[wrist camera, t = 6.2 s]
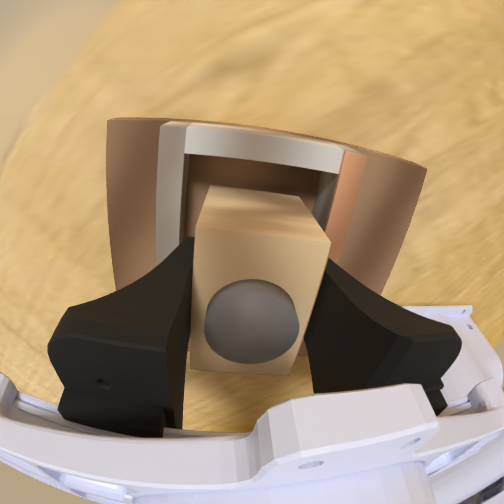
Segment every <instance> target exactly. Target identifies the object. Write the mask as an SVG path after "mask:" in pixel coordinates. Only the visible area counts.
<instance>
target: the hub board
mask: <svg viewBox="0 0 504 504" xmlns="http://www.w3.org/2000/svg"><path fill="white" fill-rule="evenodd" d="M426 172H427V169H426V168H424V167H422V166H420V165H418V164H416V163H413V162H410V161H407V160H404V159H401V158H398V157H394V156H391V155H387V154H384V153H380V152H377V151H373V150H369V149H366V148H362V147H358V146H354V145H350V144H346V143H341V142H337V141H333V140H328V139H323V138H319V137H314V136H309V135H304V134H298V133H293V132H287V131H281V130H275V129H269V128H262V127H255V126H248V125H240V124H231V123H222V122H211V121H200V120H186V119H167V118H114V119H110V120H107V144H106V181H107V207H108V223H109V235H110V246H111V256H112V264H113V272H114V279H115V286H116V291H118V290H120V289H122V288H123V287H125V286H127V285H129V284H131V283H133V282H135V281H136V280H138V279H140V278H141V277H143V276H144V275H146V274H147V273H149V272H150V271H151V270H152V269H154V268H155V267H156V266H157V265H158V264H160V263H161V262H162V261H163V260H164V259H165V258H166V257H167V256H168V255H169V254H170V253H171V252H172V251H173V250H174V249H175V248H176V247H177V246H178V245H179V244H180V243H181V242H182V241H183V240H184V238H186V237H187V236H192V237H195V229H196V224H197V221H198V218H199V216H200V213H201V210H202V207H203V204H204V201H205V198H206V196H207V193H208V190H209V187H210V185H215V186H224V187H233V188H241V189H249V190H257V191H264V192H272V193H279V194H286V195H293V196H299V197H300V199H301V200H302V201H303V203H304V204H305V206H306V207H307V208H308V210H309V211H310V213H311V214H312V215H313V217H314V218H315V220H316V221H317V223H318V224H319V225H320V227H321V228H322V230H323V231H324V233H325V234H326V236H327V237H328V238H329V240H330V241H331V246H330V249H329V250H330V254H329V258H330V259H331V260H332V261H334V262H335V263H336V264H337V265H339V266H340V267H341V268H342V269H343V270H345V271H346V272H347V273H349V274H350V275H351V276H352V277H354V278H355V279H356V280H358V281H359V282H361V283H362V284H363V285H365V286H366V287H368V288H369V289H371V290H372V291H374V292H375V293H377V294H379V295H381V293H382V291H383V288H384V286H385V284H386V282H387V280H388V277H389V275H390V273H391V270H392V268H393V266H394V263H395V261H396V258H397V256H398V253H399V251H400V248H401V246H402V243H403V241H404V238H405V235H406V233H407V230H408V227H409V224H410V222H411V219H412V216H413V213H414V210H415V207H416V204H417V201H418V198H419V195H420V192H421V189H422V186H423V182H424V179H425V175H426ZM187 351H190V338H189V343H188V350H187ZM297 356H308V353H307V348H306V345H305V342H304V338H303V340H302V343H301V346H300V349H299V352H298V354H297Z"/></svg>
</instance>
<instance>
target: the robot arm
mask: <svg viewBox="0 0 504 504" xmlns="http://www.w3.org/2000/svg"><path fill="white" fill-rule="evenodd" d="M194 243H195V237H192V236H187V237H186V238H184V240H183V241H182V242H181V243H180V244H179V245H178V246H177V247H176V248H175V249H174V250H173V251H172V252H171V253H170V254H169V255H168V256H167V257H166V258H165V259H164V260H163V261H162V262H161V263H160V264H158V265H157V266H156V267H155V268H154V269H152V270H151V271H150V272H149V273H147V274H146V275H144V276H143V277H141V278H140V279H138V280H136V281H135V282H133V283H131V284H129V285H127V286H125V287H123V288H122V289H120V290H118V291H115V292H113V293H111V294H109V295H106V296H104V297H101V298H98V299H96V300H93V301H89V302H86V303H83V304H79V305H76V306H72V307H69V308H68V309H67V311H66V312H65V313H64V315H63V317H62V318H61V320H60V322H59V324H58V326H57V327H56V329H55V331H54V333H53V335H52V337H51V339H50V341H49V343H48V355H49V358H50V361H51V363H52V365H53V367H54V369H55V371H56V373H57V375H58V376H59V378H60V380H61V382H62V384H63V385H64V387H65V388H64V391H63V394H62V397H61V399H60V402H59V405H57V404H54V403H50V402H47V401H44V400H41V399H38V398H36V397H33V396H30V395H27V394H25V393H22V392H20V391H17V388H16V387H15V385H14V383H13V382H12V381H11V380H10V378H8V377H7V376H6V375H5V374H3V373H1V372H0V461H2V462H4V463H6V464H7V465H10V466H11V467H13V468H15V469H17V470H19V471H21V472H23V473H25V474H27V475H29V476H31V477H33V478H35V479H38V480H40V481H42V482H44V483H47V484H49V485H51V486H54V487H56V488H58V489H61V490H63V491H66V492H68V493H71V494H74V495H77V496H79V497H82V498H85V499H88V500H91V501H94V502H98V503H101V504H504V387H503V388H502V389H501V386H502V382H503V369H502V364H501V362H500V359H499V357H498V355H497V354H496V352H495V351H494V349H493V348H492V347H491V345H490V344H489V342H488V341H487V340H486V338H485V337H484V335H483V334H482V333H481V331H480V330H479V329H478V327H477V326H476V325H475V323H474V322H473V321H472V319H471V318H470V317H469V316H470V314H471V313H472V311H473V307H472V306H471V305H455V306H403V307H401V306H399V305H397V304H395V303H393V302H391V301H389V300H387V299H385V298H384V297H382V296H380V295H379V294H377V293H375V292H374V291H372V290H371V289H369V288H368V287H366V286H365V285H363V284H362V283H361V282H359V281H358V280H356V279H355V278H354V277H352V276H351V275H350V274H349V273H347V272H346V271H345V270H343V269H342V268H341V267H340V266H339V265H337V264H336V263H335V262H334V261H332V260H331V259H330V258H328V261H327V265H326V268H325V271H324V275H323V278H322V281H321V285H320V288H319V291H318V295H317V298H316V301H315V304H314V307H313V310H312V313H311V316H310V320H309V323H308V326H307V329H306V331H305V334H304V337H303V338H304V342H305V345H306V348H307V353H308V357H309V362H310V369H311V375H312V382H313V391H314V394H311V395H305V396H300V397H294V398H290V399H288V400H285V401H283V402H281V403H278V404H276V405H274V406H271V407H270V408H269V409H268V410H267V411H266V412H265V413H264V414H263V415H262V416H261V417H260V418H259V419H258V420H257V421H256V424H255V426H254V429H253V431H252V432H245V433H231V432H207V431H193V430H182V421H183V400H184V384H185V371H186V359H187V350H188V343H189V338H190V334H191V300H192V278H193V259H194Z"/></svg>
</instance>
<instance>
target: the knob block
mask: <svg viewBox="0 0 504 504" xmlns="http://www.w3.org/2000/svg"><path fill="white" fill-rule="evenodd" d="M330 246H331V241H330V240H329V238H328V237H327V236H326V234H325V233H324V231H323V230H322V228H321V227H320V225H319V224H318V223H317V221H316V220H315V218H314V217H313V215H312V214H311V213H310V211H309V210H308V208H307V207H306V206H305V204H304V203H303V201H302V200H301V199H300V197H299V196H293V195H286V194H279V193H272V192H264V191H257V190H249V189H241V188H233V187H224V186H215V185H210V187H209V190H208V193H207V196H206V198H205V201H204V204H203V207H202V210H201V213H200V216H199V218H198V221H197V224H196V229H195V243H194V259H193V278H192V300H191V334H190V369H195V370H204V371H214V372H226V373H240V374H258V375H289V374H290V371H291V368H292V365H294V363H295V360H296V357H297V354H298V352H299V349H300V346H301V343H302V340H303V337H304V334H305V331H306V329H307V326H308V323H309V320H310V316H311V313H312V310H313V307H314V304H315V301H316V298H317V295H318V291H319V288H320V285H321V281H322V278H323V275H324V271H325V268H326V265H327V261H328V258H329V254H330V250H329V249H330Z"/></svg>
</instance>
